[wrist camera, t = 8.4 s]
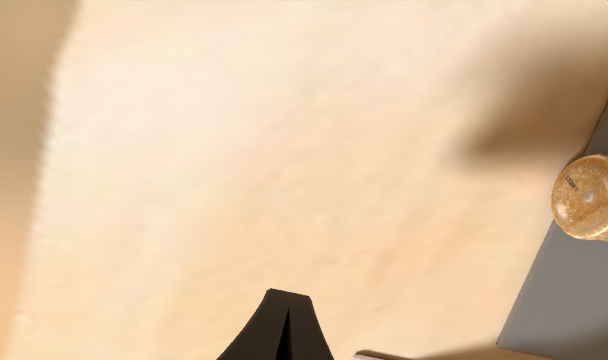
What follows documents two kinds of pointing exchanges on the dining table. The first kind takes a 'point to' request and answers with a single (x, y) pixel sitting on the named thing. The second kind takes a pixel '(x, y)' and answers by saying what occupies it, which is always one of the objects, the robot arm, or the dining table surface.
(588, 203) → the sprinkles bottle
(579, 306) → the rubber mat
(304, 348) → the robot arm
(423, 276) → the dining table surface
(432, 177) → the dining table surface
